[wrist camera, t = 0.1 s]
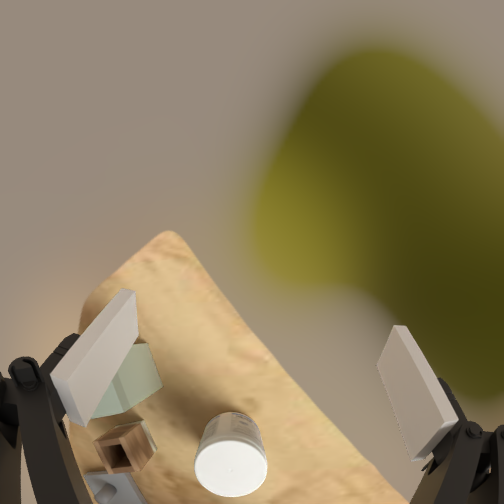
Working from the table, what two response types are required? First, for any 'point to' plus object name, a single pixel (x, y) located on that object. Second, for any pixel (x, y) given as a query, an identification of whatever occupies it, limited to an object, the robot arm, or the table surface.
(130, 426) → the sleeve
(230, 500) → the table surface
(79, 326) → the table surface
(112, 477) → the pin board
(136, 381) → the tower
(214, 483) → the supplement tub
